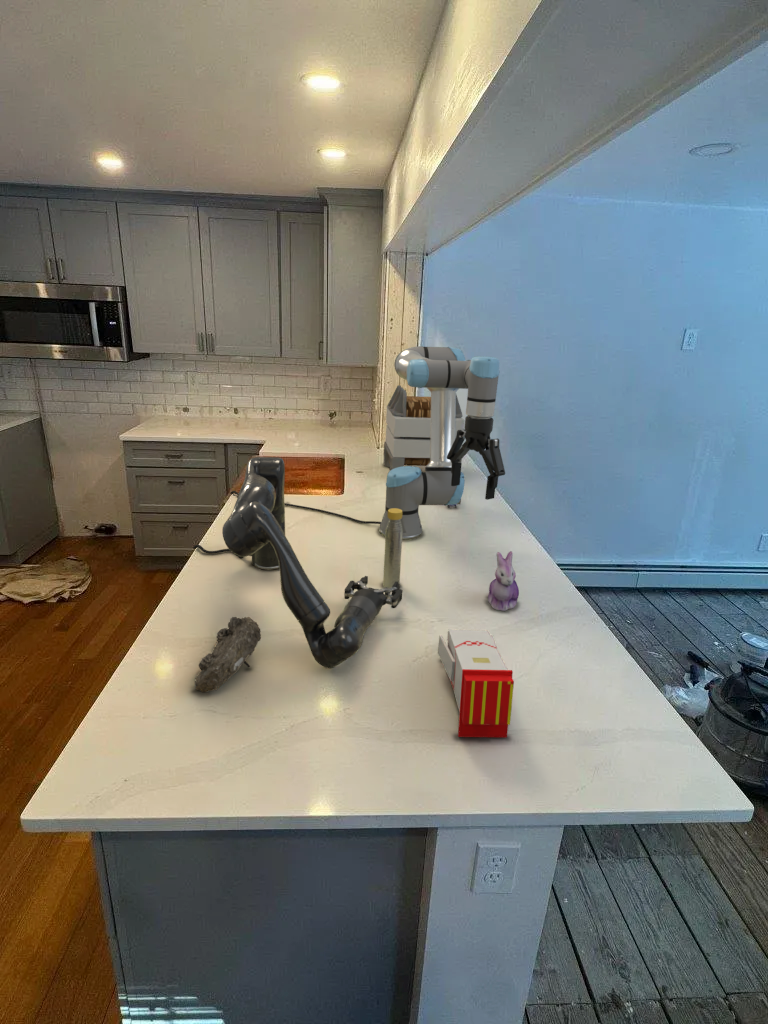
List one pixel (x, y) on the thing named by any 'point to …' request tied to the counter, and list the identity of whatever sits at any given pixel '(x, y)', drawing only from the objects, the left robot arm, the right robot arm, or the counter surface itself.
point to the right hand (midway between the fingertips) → (471, 491)
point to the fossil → (228, 653)
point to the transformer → (410, 430)
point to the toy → (478, 682)
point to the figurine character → (455, 504)
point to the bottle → (392, 553)
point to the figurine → (503, 584)
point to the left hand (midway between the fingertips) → (381, 581)
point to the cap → (394, 514)
